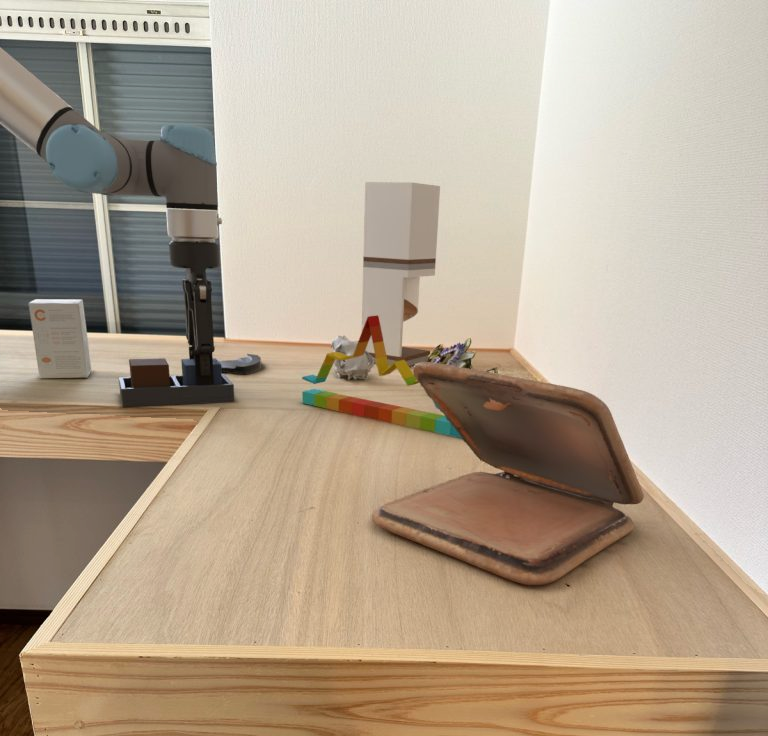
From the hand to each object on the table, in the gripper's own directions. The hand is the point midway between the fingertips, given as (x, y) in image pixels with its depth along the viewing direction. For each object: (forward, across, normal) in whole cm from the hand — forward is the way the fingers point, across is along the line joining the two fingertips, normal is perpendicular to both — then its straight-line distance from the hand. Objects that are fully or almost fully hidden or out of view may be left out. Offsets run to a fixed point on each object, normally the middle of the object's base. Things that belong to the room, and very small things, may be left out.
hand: (202, 389), depth 120 cm
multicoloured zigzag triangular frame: (+1, -20, -24) cm, 31 cm away
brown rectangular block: (0, 0, +8) cm, 8 cm away
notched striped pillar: (+1, +26, -45) cm, 52 cm away
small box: (+1, +22, +21) cm, 31 cm away
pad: (0, 0, 0) cm, 0 cm away
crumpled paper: (+1, +12, -30) cm, 32 cm away
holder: (+1, 0, +4) cm, 4 cm away
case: (+1, -63, -21) cm, 66 cm away
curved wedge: (+1, +23, -11) cm, 25 cm away
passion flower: (+1, -8, -43) cm, 44 cm away
